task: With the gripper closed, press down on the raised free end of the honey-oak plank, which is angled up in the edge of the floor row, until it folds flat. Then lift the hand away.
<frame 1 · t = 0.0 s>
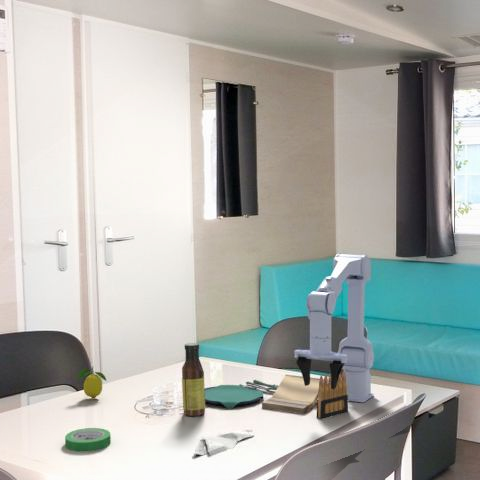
hand: (320, 386, 209), 10 cm above the table, tool pointing down, fingers open, 7 cm apart
ammunition clip: (332, 415, 218), on the table
sauce bottle: (193, 414, 219), on the table
lemon: (92, 399, 235), on the table
cloth: (221, 446, 195), on the table
floor row: (286, 408, 224), on the table
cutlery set: (241, 397, 238), on the table
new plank: (299, 390, 232), point 3 cm above the table, hinge at 25.0°
tape roll: (88, 445, 194), on the table
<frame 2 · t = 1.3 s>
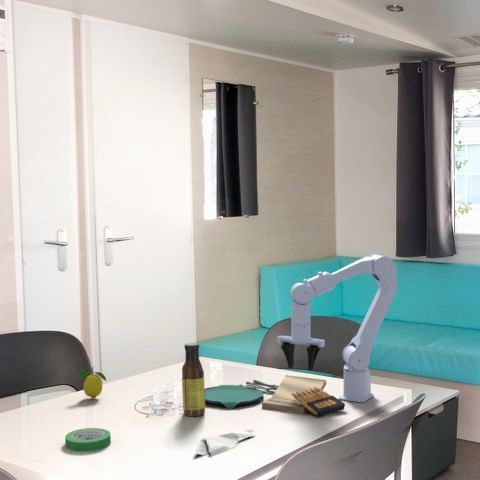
hand: (300, 368, 233), 9 cm above the table, tool pointing down, fingers open, 6 cm apart
ammunition clip: (331, 411, 218), point 1 cm above the table, touching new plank
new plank: (299, 390, 232), point 3 cm above the table, hinge at 23.6°, touching ammunition clip
everything else where it was.
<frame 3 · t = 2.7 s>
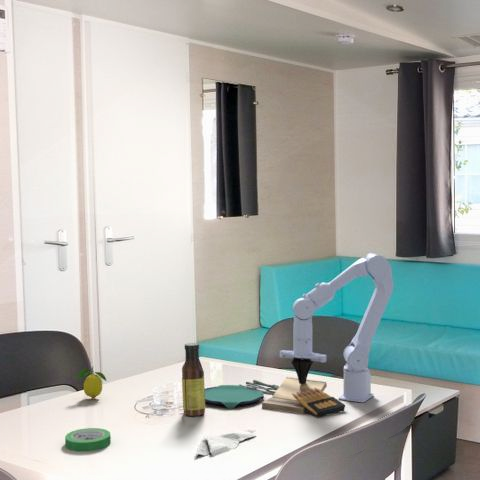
hand: (302, 383, 234), 5 cm above the table, tool pointing down, fingers closed, pressing on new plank
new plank: (299, 391, 232), point 3 cm above the table, hinge at 19.5°, touching gripper, ammunition clip
everything else where it was.
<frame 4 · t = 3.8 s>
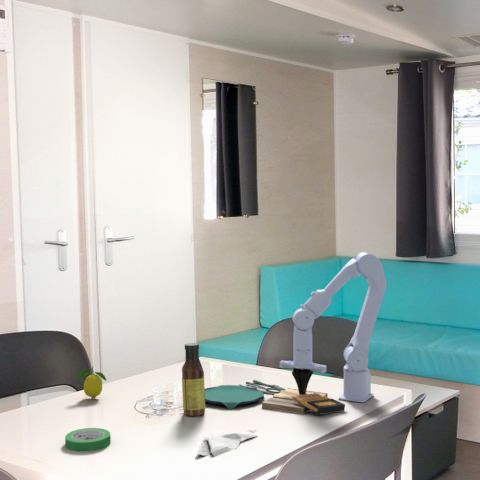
hand: (302, 393, 234), 1 cm above the table, tool pointing down, fingers closed, pressing on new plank
ammunition clip: (332, 409, 218), point 1 cm above the table, touching floor row
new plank: (300, 397, 233), point 1 cm above the table, hinge at -0.7°, touching gripper
everything else where it was.
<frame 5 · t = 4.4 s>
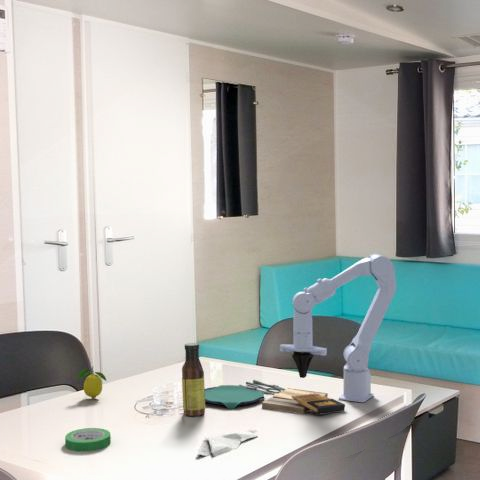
hand: (303, 377, 234), 7 cm above the table, tool pointing down, fingers closed
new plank: (300, 397, 233), point 1 cm above the table, hinge at -0.7°
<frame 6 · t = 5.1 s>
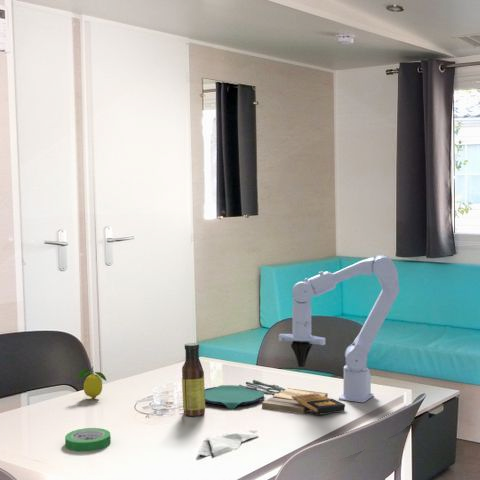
hand: (301, 366, 236), 9 cm above the table, tool pointing down, fingers closed
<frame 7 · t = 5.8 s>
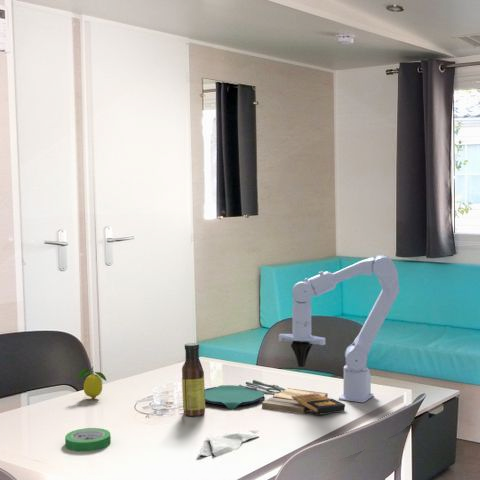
hand: (301, 366, 236), 9 cm above the table, tool pointing down, fingers closed
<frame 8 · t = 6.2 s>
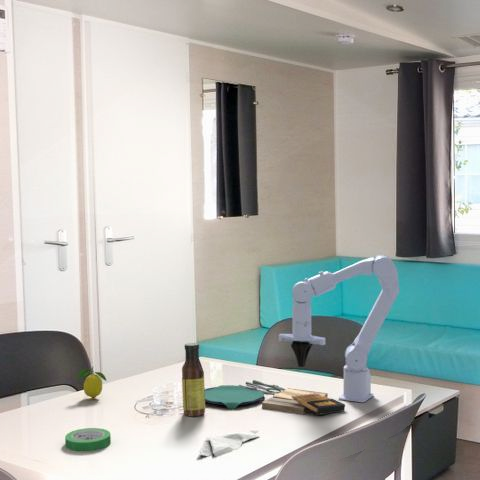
hand: (301, 366, 236), 9 cm above the table, tool pointing down, fingers closed
at the end: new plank at -1° (first picture: +25°); ammunition clip moved 1.4 cm from its start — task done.
